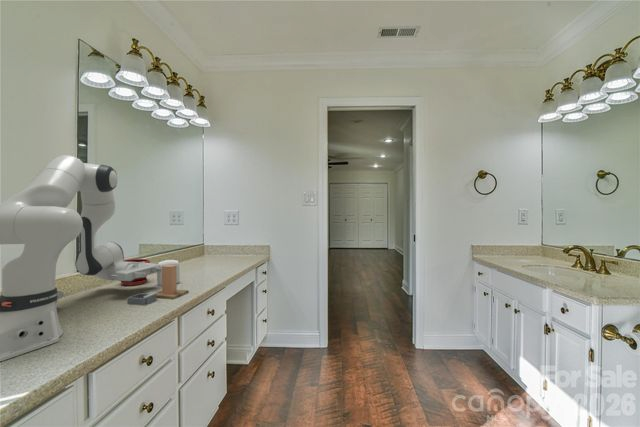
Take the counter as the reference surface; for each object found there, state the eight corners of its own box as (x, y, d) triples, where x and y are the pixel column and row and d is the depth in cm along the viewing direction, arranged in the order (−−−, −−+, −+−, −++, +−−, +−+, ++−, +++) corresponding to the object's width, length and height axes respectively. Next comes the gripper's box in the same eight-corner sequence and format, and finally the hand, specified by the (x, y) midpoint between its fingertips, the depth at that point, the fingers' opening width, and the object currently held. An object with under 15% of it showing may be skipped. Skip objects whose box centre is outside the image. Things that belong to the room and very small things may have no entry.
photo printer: (157, 286, 146) (157, 261, 146) (156, 284, 150) (156, 260, 149) (180, 283, 152) (180, 259, 152) (178, 281, 156) (178, 258, 156)
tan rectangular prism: (172, 294, 130) (171, 266, 129) (162, 293, 131) (161, 266, 130) (176, 292, 133) (176, 265, 132) (166, 291, 133) (166, 265, 133)
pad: (173, 299, 125) (173, 296, 125) (149, 297, 128) (149, 295, 128) (188, 292, 135) (188, 290, 135) (165, 291, 138) (165, 289, 138)
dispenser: (145, 305, 117) (145, 296, 117) (126, 303, 119) (126, 295, 119) (157, 300, 124) (157, 291, 124) (139, 299, 126) (139, 290, 126)
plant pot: (127, 288, 144) (127, 263, 143) (115, 284, 151) (114, 261, 151) (154, 282, 154) (154, 259, 154) (142, 279, 162) (141, 257, 162)
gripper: (107, 269, 126) (135, 270, 123) (145, 260, 146) (169, 261, 143) (107, 283, 126) (135, 285, 123) (145, 273, 146) (169, 274, 143)
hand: (154, 272), depth 133 cm, fingers open, 8 cm apart
